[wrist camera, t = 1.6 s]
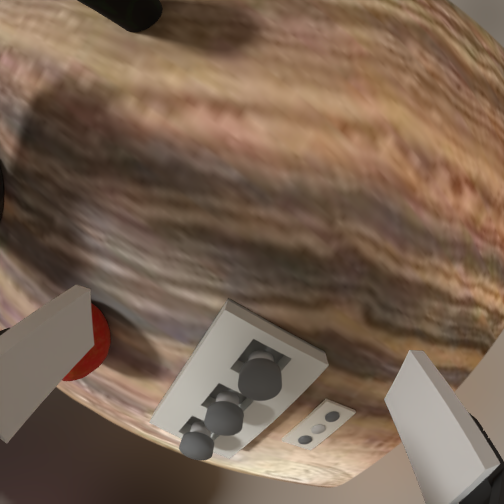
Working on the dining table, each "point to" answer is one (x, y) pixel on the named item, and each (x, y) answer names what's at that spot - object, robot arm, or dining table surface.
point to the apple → (93, 348)
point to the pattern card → (319, 424)
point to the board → (237, 376)
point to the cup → (128, 12)
